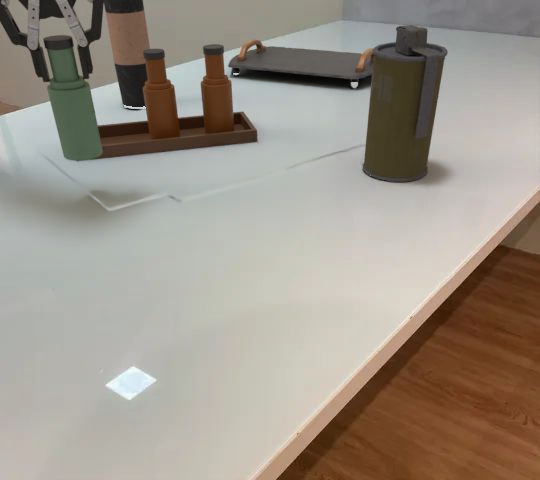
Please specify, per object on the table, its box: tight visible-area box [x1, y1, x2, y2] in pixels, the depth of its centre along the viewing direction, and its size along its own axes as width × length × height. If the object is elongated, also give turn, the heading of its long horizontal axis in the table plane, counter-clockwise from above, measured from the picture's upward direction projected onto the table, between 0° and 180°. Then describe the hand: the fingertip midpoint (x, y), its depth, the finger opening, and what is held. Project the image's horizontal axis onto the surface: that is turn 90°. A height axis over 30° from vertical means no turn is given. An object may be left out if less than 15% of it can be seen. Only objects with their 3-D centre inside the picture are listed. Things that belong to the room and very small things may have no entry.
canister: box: [362, 24, 449, 183], centre depth 84 cm, size 11×10×20 cm
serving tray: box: [227, 38, 374, 82], centre depth 137 cm, size 39×23×6 cm, turn 64°
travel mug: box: [103, 0, 151, 107], centre depth 114 cm, size 8×8×20 cm
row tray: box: [89, 111, 258, 161], centre depth 101 cm, size 32×12×3 cm, turn 104°
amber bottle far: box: [200, 43, 234, 134], centre depth 98 cm, size 5×5×14 cm
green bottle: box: [42, 34, 103, 162], centre depth 74 cm, size 5×5×14 cm
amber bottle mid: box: [143, 48, 180, 140], centre depth 97 cm, size 5×5×14 cm
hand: (66, 78), depth 73 cm, fingers closed on green bottle, 4 cm apart
